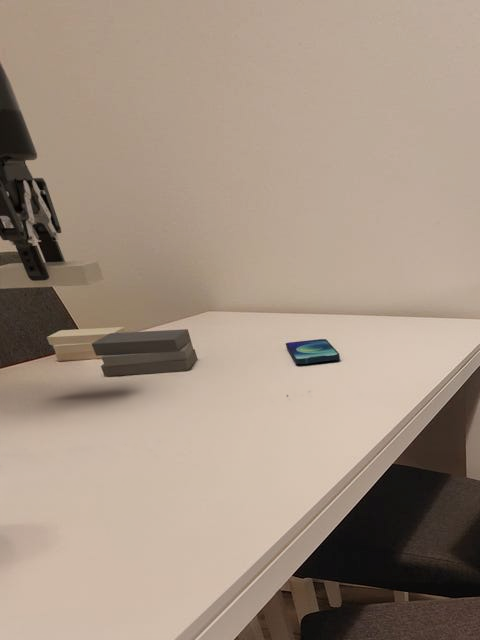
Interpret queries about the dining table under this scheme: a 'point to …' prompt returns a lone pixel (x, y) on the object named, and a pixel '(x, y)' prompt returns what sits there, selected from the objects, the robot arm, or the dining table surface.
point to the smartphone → (312, 351)
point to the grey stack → (145, 352)
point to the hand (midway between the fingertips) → (50, 276)
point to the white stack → (78, 342)
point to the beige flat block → (52, 274)
